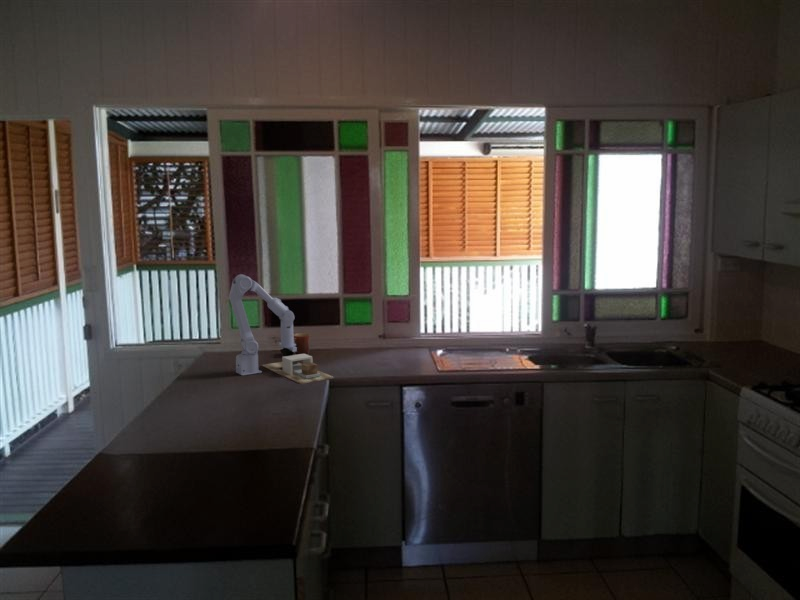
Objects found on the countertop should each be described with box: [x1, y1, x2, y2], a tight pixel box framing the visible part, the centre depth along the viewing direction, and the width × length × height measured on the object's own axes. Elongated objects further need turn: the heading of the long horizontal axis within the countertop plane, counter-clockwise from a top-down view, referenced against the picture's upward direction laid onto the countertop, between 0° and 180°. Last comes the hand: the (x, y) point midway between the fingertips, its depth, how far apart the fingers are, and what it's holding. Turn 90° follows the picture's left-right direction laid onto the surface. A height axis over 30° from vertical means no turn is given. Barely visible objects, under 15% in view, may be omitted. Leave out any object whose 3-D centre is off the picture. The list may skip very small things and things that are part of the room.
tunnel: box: [281, 354, 314, 375], centre depth 282 cm, size 11×8×7 cm
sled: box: [292, 361, 321, 379], centre depth 279 cm, size 7×23×4 cm, turn 36°
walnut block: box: [301, 362, 319, 375], centre depth 273 cm, size 5×5×4 cm
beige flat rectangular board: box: [261, 361, 334, 385], centre depth 284 cm, size 16×39×1 cm, turn 36°
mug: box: [293, 332, 311, 355], centre depth 316 cm, size 12×9×10 cm
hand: (287, 364), depth 290 cm, fingers closed
